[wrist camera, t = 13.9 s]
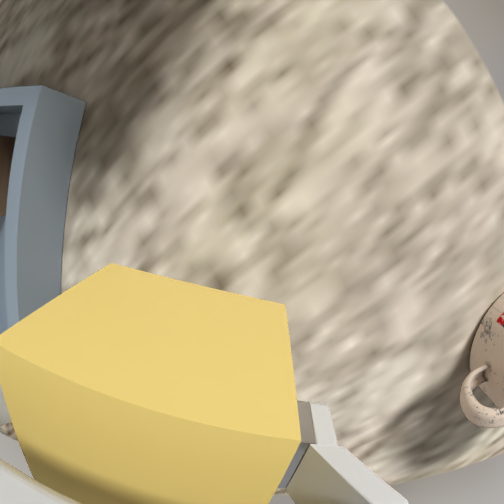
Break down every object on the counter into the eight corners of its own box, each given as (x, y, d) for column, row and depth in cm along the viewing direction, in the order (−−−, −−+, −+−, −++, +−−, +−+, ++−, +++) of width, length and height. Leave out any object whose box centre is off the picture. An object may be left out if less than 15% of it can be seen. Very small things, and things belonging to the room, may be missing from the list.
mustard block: (111, 262, 9) (-9, 341, 4) (285, 304, 9) (301, 440, 4) (107, 395, 10) (42, 496, 5) (246, 432, 10) (234, 558, 5)
